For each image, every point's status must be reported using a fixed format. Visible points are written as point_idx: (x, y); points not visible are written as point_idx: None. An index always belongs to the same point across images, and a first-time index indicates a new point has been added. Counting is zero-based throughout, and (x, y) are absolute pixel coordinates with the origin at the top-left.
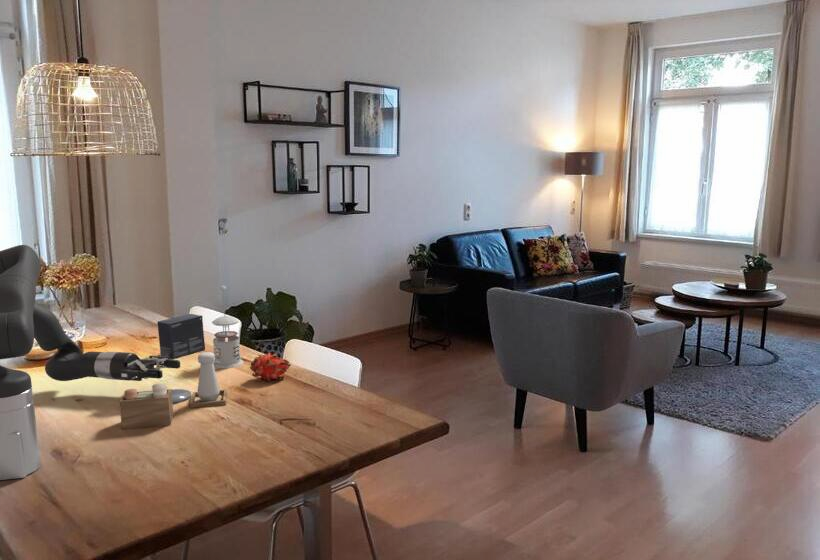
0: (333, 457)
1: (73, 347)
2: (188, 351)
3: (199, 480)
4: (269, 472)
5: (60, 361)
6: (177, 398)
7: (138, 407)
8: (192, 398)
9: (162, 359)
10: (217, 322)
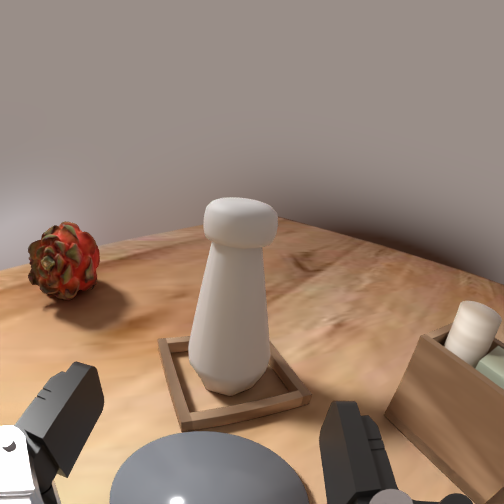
0: (373, 245)
1: None
2: None
3: (485, 296)
4: (430, 267)
5: None
6: (245, 464)
7: None
8: (254, 404)
9: (16, 467)
10: None
